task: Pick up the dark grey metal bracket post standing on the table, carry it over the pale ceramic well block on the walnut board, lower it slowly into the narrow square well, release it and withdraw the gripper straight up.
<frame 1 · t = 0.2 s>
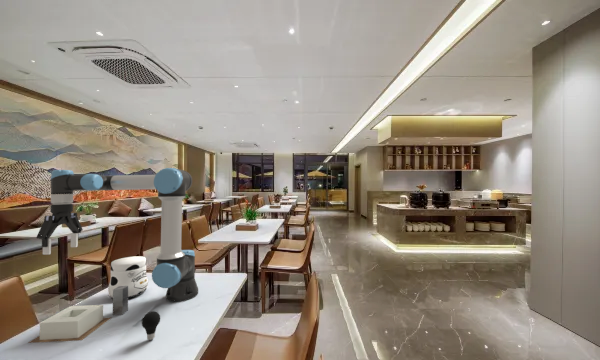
hand: (61, 250, 115), 28 cm above the table, fingers open, 13 cm apart
light bulb: (150, 340, 92), on the table
board: (73, 332, 98), on the table
milk container: (128, 295, 133), on the table
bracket: (120, 315, 110), on the table
well: (73, 329, 98), resting on board
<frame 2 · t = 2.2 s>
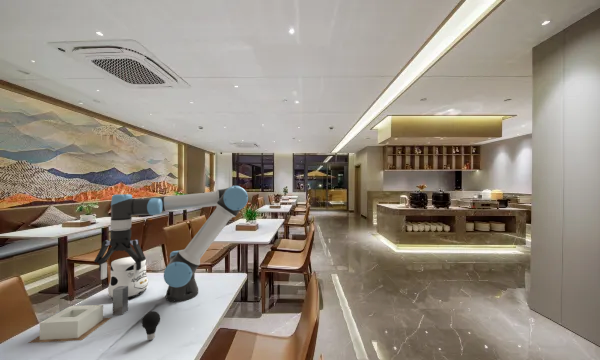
hand: (120, 278, 111), 16 cm above the table, fingers open, 13 cm apart
nothing on the table moved.
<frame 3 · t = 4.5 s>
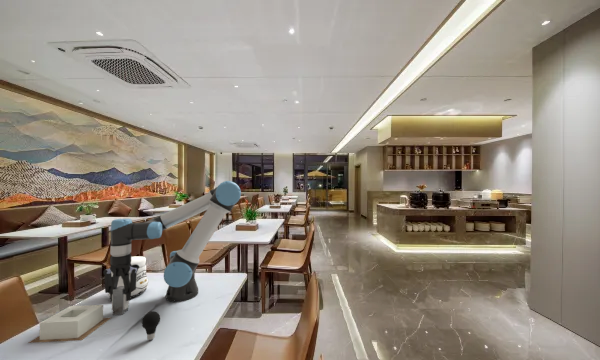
hand: (120, 308, 110), 3 cm above the table, fingers closed on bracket, 4 cm apart
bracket: (120, 315, 110), on the table, touching gripper
everything else where it was.
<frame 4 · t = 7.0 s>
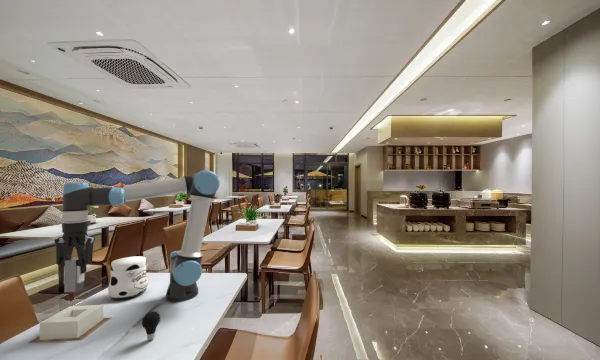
hand: (74, 281, 98), 19 cm above the table, fingers closed on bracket, 4 cm apart
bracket: (74, 290, 98), point 16 cm above the table, touching gripper
everything else where it was.
when the fingers open (8 cm above the table, at t = 9.5 s): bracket drops 3 cm, resting on well.
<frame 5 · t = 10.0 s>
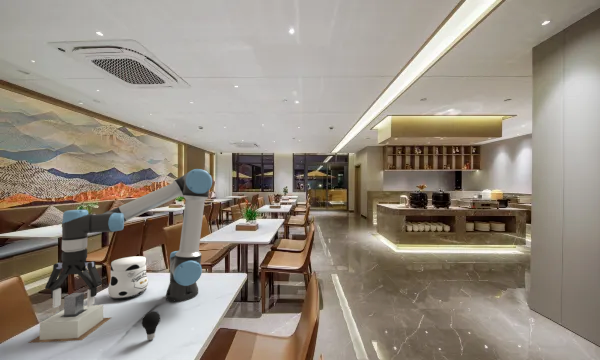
hand: (73, 305, 98), 10 cm above the table, fingers open, 12 cm apart
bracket: (73, 326, 98), point 2 cm above the table, touching well
everything else where it was.
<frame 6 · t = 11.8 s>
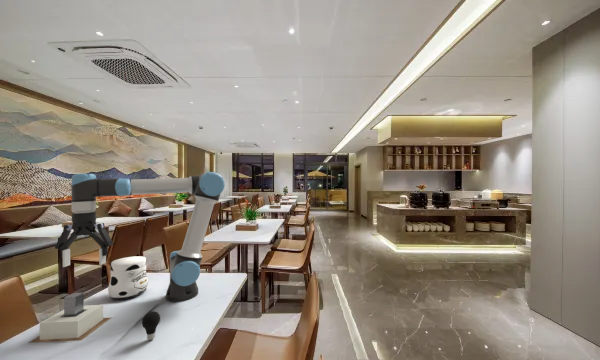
hand: (84, 265, 102), 25 cm above the table, fingers open, 13 cm apart
nothing on the table moved.
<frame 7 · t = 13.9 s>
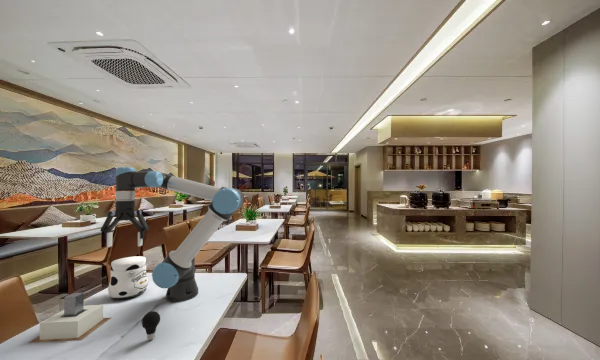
hand: (124, 246, 117), 29 cm above the table, fingers open, 13 cm apart
nothing on the table moved.
at the end: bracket 0.0 cm off-centre on the well, point 1.0 cm above the well's base; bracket tilted 0°; the gripper is holding nothing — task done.
